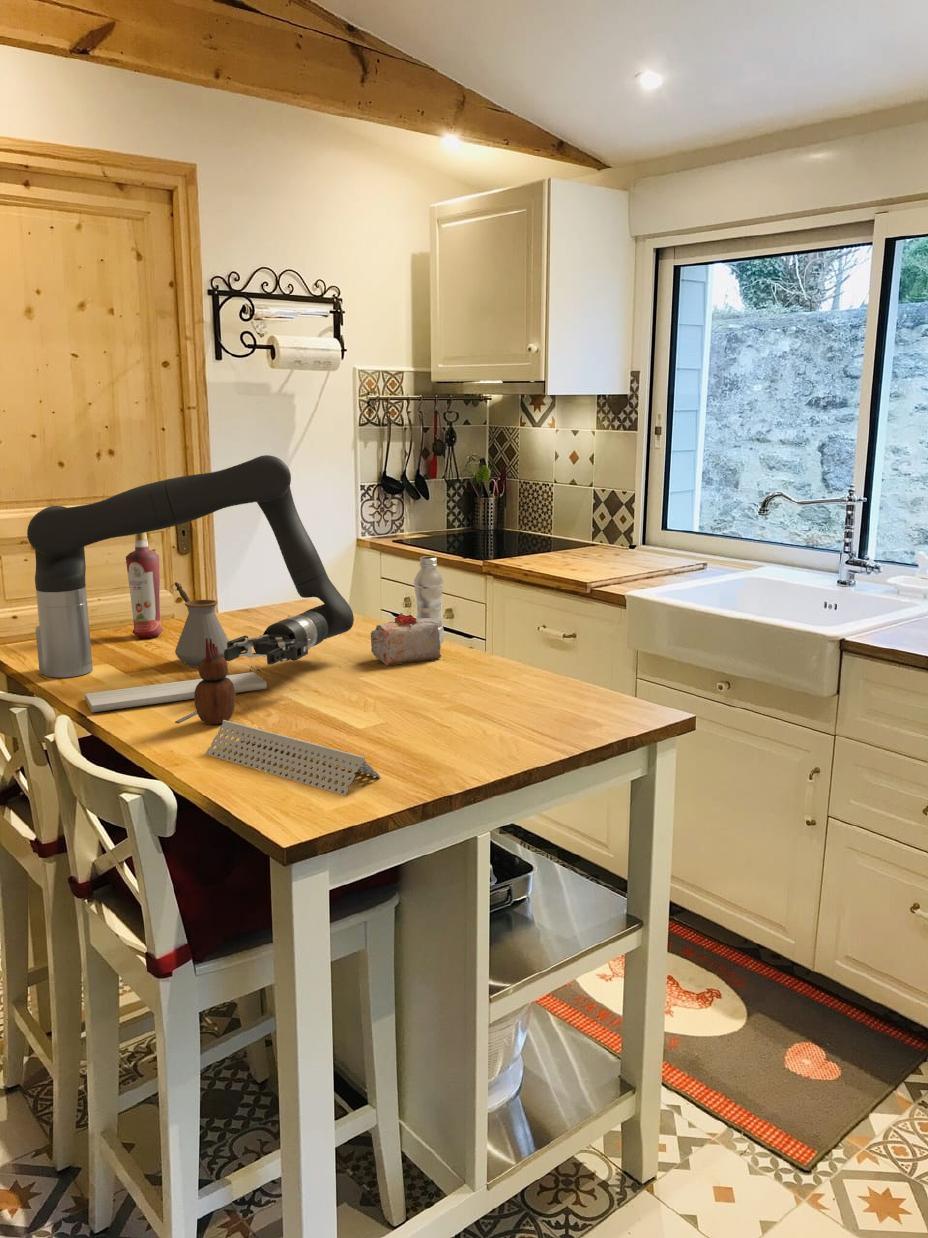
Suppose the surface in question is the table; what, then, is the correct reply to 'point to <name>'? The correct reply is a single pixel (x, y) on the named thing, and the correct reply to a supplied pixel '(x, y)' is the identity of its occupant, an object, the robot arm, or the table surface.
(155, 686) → the baseboard molding
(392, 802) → the table surface
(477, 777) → the table surface
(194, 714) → the thin grey rod
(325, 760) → the corner bead
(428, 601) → the plastic bottle
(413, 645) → the food item
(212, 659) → the wooden figurine
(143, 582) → the liquor
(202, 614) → the coffee pot
